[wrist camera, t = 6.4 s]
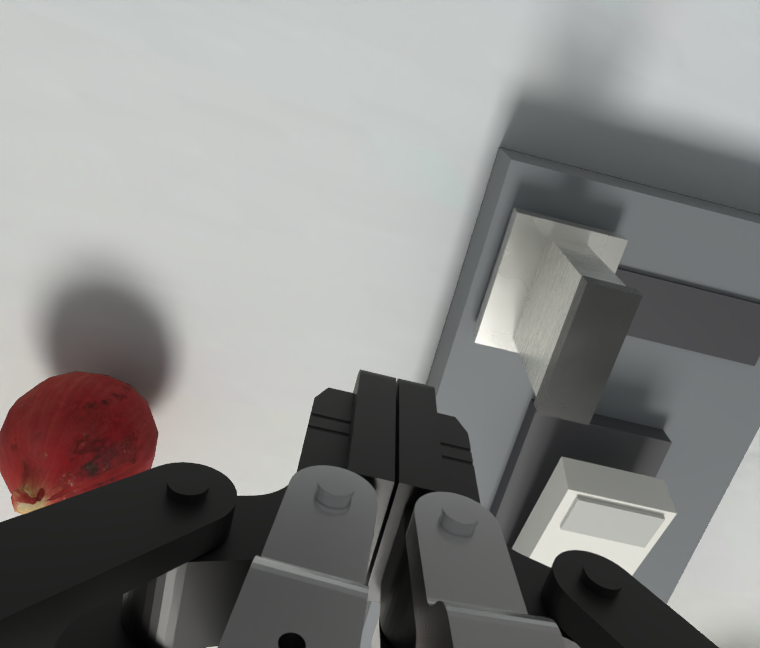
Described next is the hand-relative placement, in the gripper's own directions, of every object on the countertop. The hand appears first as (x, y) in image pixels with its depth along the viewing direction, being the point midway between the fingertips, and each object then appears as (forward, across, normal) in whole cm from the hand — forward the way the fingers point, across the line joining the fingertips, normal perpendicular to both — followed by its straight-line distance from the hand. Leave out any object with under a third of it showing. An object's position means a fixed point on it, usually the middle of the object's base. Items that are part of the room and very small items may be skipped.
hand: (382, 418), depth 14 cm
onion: (+16, +10, +11) cm, 22 cm away
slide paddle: (+12, -6, 0) cm, 14 cm away
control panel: (+16, -10, +9) cm, 21 cm away
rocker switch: (+10, -10, +9) cm, 17 cm away
